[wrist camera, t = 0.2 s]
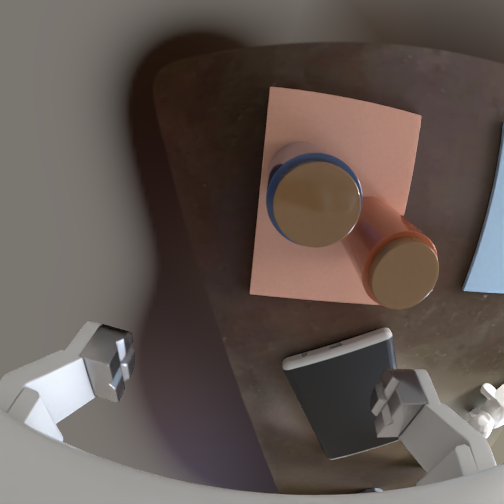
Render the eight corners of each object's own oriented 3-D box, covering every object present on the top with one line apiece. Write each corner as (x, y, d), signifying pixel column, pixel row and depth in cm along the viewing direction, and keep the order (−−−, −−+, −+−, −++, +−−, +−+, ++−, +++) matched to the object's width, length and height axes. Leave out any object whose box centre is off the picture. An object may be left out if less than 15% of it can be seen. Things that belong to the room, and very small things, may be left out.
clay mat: (269, 87, 24) (269, 86, 24) (419, 115, 24) (421, 115, 24) (249, 291, 33) (249, 294, 32) (377, 302, 32) (378, 305, 32)
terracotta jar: (343, 191, 27) (378, 230, 18) (402, 201, 27) (454, 242, 18) (332, 252, 30) (356, 312, 21) (388, 258, 30) (427, 315, 21)
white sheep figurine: (507, 359, 40) (459, 405, 37) (537, 382, 32) (492, 435, 29) (494, 389, 43) (446, 433, 40) (521, 411, 36) (474, 461, 33)
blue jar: (270, 137, 26) (271, 148, 17) (339, 146, 26) (375, 163, 17) (263, 204, 28) (260, 248, 19) (329, 211, 28) (356, 258, 19)
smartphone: (388, 322, 33) (393, 331, 32) (401, 432, 43) (403, 440, 42) (280, 356, 36) (280, 366, 34) (328, 454, 46) (329, 461, 44)
